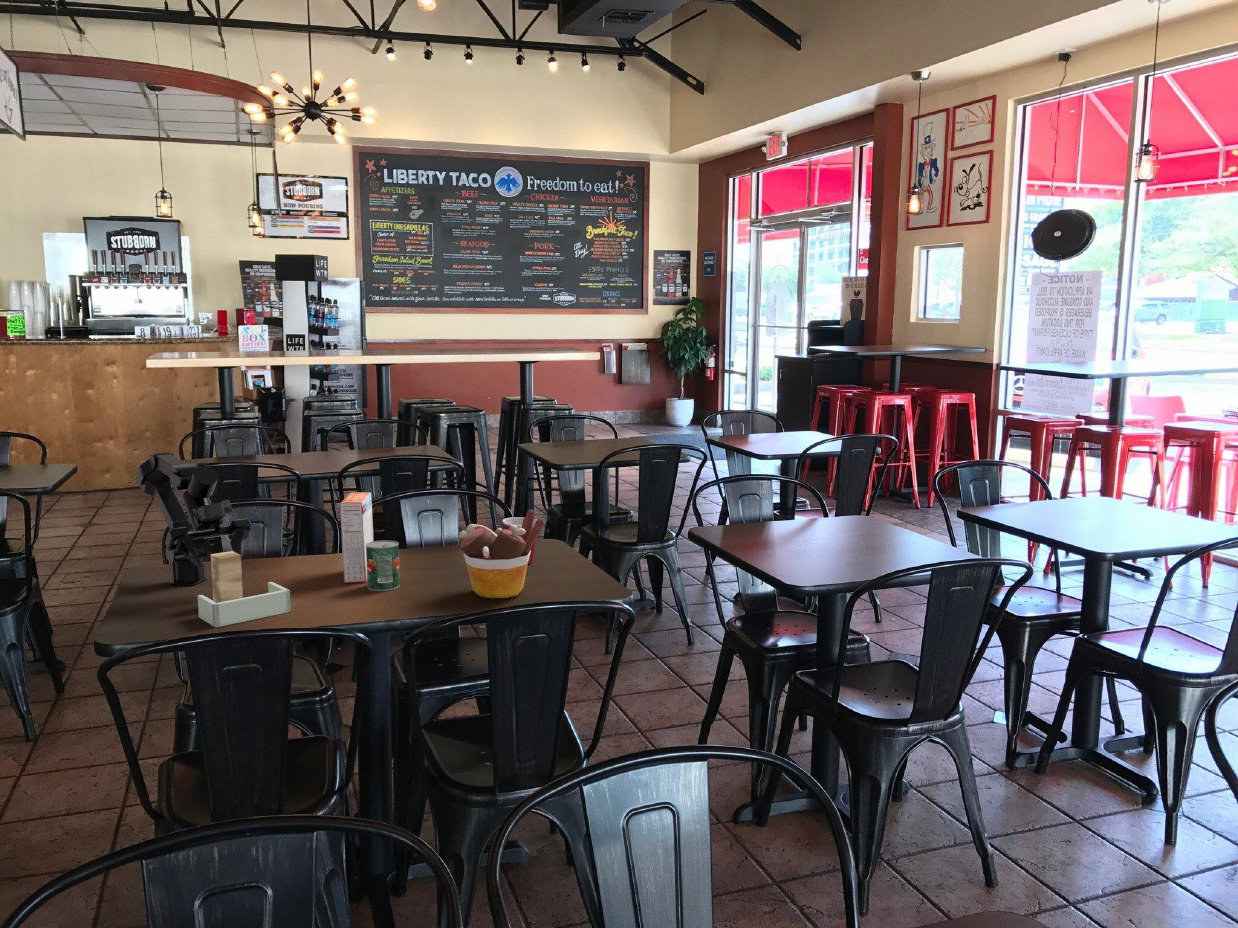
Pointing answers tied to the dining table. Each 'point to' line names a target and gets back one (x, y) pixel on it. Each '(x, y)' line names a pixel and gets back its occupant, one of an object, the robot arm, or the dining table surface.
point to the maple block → (226, 576)
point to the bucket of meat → (499, 556)
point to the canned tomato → (382, 565)
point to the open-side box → (245, 607)
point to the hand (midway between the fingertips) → (220, 563)
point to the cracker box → (356, 535)
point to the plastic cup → (518, 522)
